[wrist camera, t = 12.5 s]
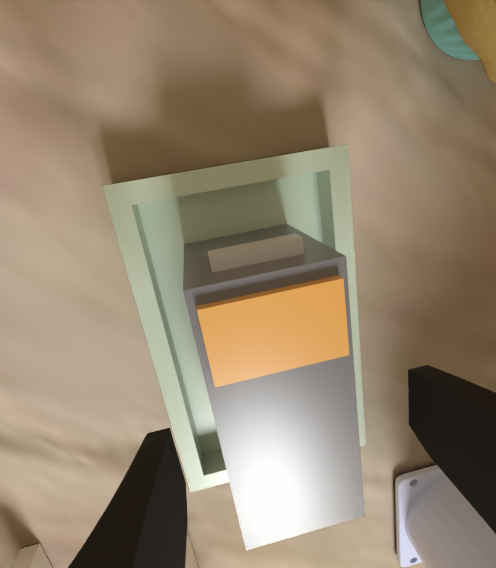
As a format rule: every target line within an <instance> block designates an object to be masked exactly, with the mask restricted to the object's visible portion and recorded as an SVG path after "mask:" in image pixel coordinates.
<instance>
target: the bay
mask: <svg viewBox="0 0 496 568" xmlns="http://www.w3.org/2000/svg"><path fill="white" fill-rule="evenodd" d="M12 568H52V566H51V564H50V562H49V560H48V558H47V556H46V554H45V552H44V550H43V548H42V547H41V545H40V543H39V544H36V545H32V546H28V547H24V548H21V549H20V551H19V553H18V555H17V558H16V560H15V562H14V564H13V567H12ZM185 568H198V565H197V561H196V558H195V555H194V552H193V549H192V545H191V542H190V539H189V536H188V532H187V543H186V562H185Z"/></svg>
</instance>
